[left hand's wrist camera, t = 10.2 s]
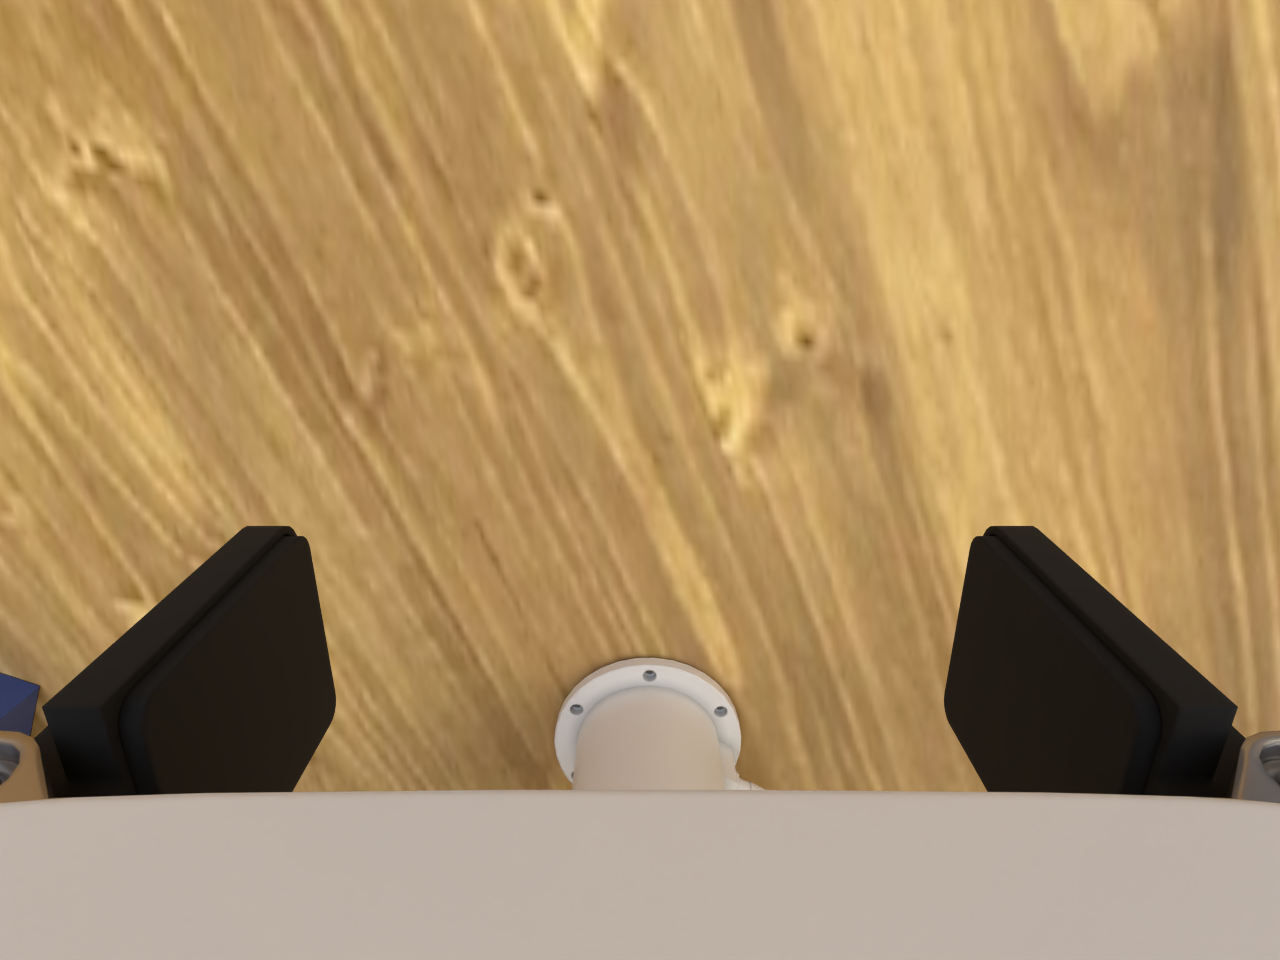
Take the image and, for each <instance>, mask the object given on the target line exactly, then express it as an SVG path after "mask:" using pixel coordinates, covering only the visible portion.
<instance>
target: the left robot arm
mask: <svg viewBox="0 0 1280 960" xmlns="http://www.w3.org/2000/svg"><path fill="white" fill-rule="evenodd" d="M335 707H336V695H335V688H334V683H333V677H332V671H331V665H330V660H329V654H328V648H327V643H326V637H325V631H324V625H323V620H322V614H321V608H320V603H319V597H318V591H317V585H316V580H315V574H314V568H313V562H312V557H311V551H310V546H309V543H308V541H307V539H306V538H305V537H304V536H297V535H296V533H295V531H294V530H293V529H292V528H291V527H290V526H246V527H245V528H243V529H242V530H240V531H239V532H238V533H237V534H236V535H235V536H234V537H233V538H231V539H230V540H229V541H228V542H227V543H226V544H225V545H224V546H222V547H221V548H220V549H219V550H218V551H217V552H216V553H215V554H213V555H212V556H211V557H210V558H209V559H208V560H207V561H206V562H204V563H203V564H202V565H201V566H200V567H199V568H198V569H197V570H195V571H194V572H193V573H192V574H191V575H190V576H189V577H188V578H186V579H185V580H184V581H183V582H182V583H181V584H180V585H179V586H178V587H176V588H175V589H174V590H173V591H172V592H171V593H170V594H169V595H167V596H166V597H165V598H164V599H163V600H162V601H161V602H160V603H158V604H157V605H156V606H155V607H154V608H153V609H152V610H151V611H149V612H148V613H147V614H146V615H145V616H144V617H143V618H142V619H140V620H139V621H138V622H137V623H136V624H135V625H134V626H133V627H131V628H130V629H129V630H128V631H127V632H126V633H125V634H124V635H122V636H121V637H120V638H119V639H118V640H117V641H116V642H115V643H113V644H112V645H111V646H110V647H109V648H108V649H107V650H106V651H104V652H103V653H102V654H101V655H100V656H99V657H98V658H97V659H95V660H94V661H93V662H92V663H91V664H90V665H89V666H88V667H87V668H85V669H84V670H83V671H82V672H81V673H80V674H79V675H78V676H76V677H75V678H74V679H73V680H72V681H71V682H70V683H69V684H67V685H66V686H65V687H64V688H63V689H62V690H61V691H60V692H58V693H57V694H56V695H55V696H54V697H53V698H52V699H51V700H49V701H48V702H47V703H46V704H45V705H44V706H43V707H42V708H43V711H44V714H45V717H46V720H47V723H48V726H47V727H46V728H45V729H44V730H43V731H42V732H41V733H40V734H39V735H38V736H36V737H35V738H33V737H30V736H28V735H26V734H23V733H21V732H12V731H0V960H1280V731H1268V732H1259V733H1257V734H1254V735H1252V736H1250V737H1247V738H1245V737H1244V736H1242V735H1241V734H1240V733H1239V732H1238V731H1237V730H1236V729H1235V728H1234V727H1233V726H1232V723H1233V720H1234V717H1235V714H1236V711H1237V708H1238V707H1237V706H1236V705H1235V704H1234V703H1233V702H1232V701H1231V700H1229V699H1228V698H1227V697H1226V696H1225V695H1224V694H1223V693H1222V692H1220V691H1219V690H1218V689H1217V688H1216V687H1215V686H1214V685H1213V684H1211V683H1210V682H1209V681H1208V680H1207V679H1206V678H1205V677H1204V676H1202V675H1201V674H1200V673H1199V672H1198V671H1197V670H1196V669H1195V668H1193V667H1192V666H1191V665H1190V664H1189V663H1188V662H1187V661H1186V660H1185V659H1183V658H1182V657H1181V656H1180V655H1179V654H1178V653H1177V652H1176V651H1174V650H1173V649H1172V648H1171V647H1170V646H1169V645H1168V644H1167V643H1165V642H1164V641H1163V640H1162V639H1161V638H1160V637H1159V636H1158V635H1156V634H1155V633H1154V632H1153V631H1152V630H1151V629H1150V628H1149V627H1147V626H1146V625H1145V624H1144V623H1143V622H1142V621H1141V620H1140V619H1138V618H1137V617H1136V616H1135V615H1134V614H1133V613H1132V612H1131V611H1129V610H1128V609H1127V608H1126V607H1125V606H1124V605H1123V604H1122V603H1120V602H1119V601H1118V600H1117V599H1116V598H1115V597H1114V596H1113V595H1111V594H1110V593H1109V592H1108V591H1107V590H1106V589H1105V588H1104V587H1102V586H1101V585H1100V584H1099V583H1098V582H1097V581H1096V580H1095V579H1093V578H1092V577H1091V576H1090V575H1089V574H1088V573H1087V572H1086V571H1085V570H1083V569H1082V568H1081V567H1080V566H1079V565H1078V564H1077V563H1076V562H1074V561H1073V560H1072V559H1071V558H1070V557H1069V556H1068V555H1067V554H1065V553H1064V552H1063V551H1062V550H1061V549H1060V548H1059V547H1058V546H1056V545H1055V544H1054V543H1053V542H1052V541H1051V540H1050V539H1049V538H1047V537H1046V536H1045V535H1044V534H1043V533H1042V532H1041V531H1040V530H1038V529H1037V528H1035V527H1034V526H990V527H989V528H988V529H987V530H986V531H985V533H984V535H983V536H976V537H975V538H974V539H973V541H972V543H971V546H970V551H969V557H968V562H967V568H966V574H965V580H964V585H963V591H962V597H961V602H960V608H959V614H958V620H957V625H956V631H955V637H954V643H953V648H952V654H951V660H950V665H949V671H948V677H947V683H946V688H945V695H944V707H945V713H946V716H947V719H948V722H949V724H950V726H951V727H952V729H953V731H954V733H955V735H956V736H957V738H958V740H959V742H960V743H961V745H962V747H963V749H964V750H965V752H966V754H967V756H968V758H969V759H970V761H971V763H972V765H973V766H974V768H975V770H976V772H977V774H978V775H979V777H980V779H981V781H982V782H983V784H984V786H985V788H986V789H987V791H988V792H930V791H817V790H765V789H764V788H762V787H760V786H758V785H756V784H754V783H752V782H750V781H745V780H743V779H741V778H739V774H738V772H736V770H735V766H736V763H737V759H738V756H739V753H740V746H741V732H740V725H739V720H738V717H737V713H736V710H735V707H734V705H733V703H732V702H731V700H730V698H729V696H728V695H727V693H726V692H725V691H724V690H723V689H722V688H721V687H720V685H719V684H718V683H717V682H715V681H714V680H713V679H711V678H710V677H709V676H708V675H706V674H705V673H703V672H701V671H699V670H697V669H695V668H693V667H692V666H690V665H687V664H683V663H680V662H677V661H674V660H668V659H661V658H634V659H629V660H623V661H618V662H615V663H613V664H610V665H607V666H605V667H602V668H600V669H598V670H597V671H595V672H593V673H591V674H590V675H588V676H587V677H585V678H584V679H583V680H582V681H581V682H580V683H578V684H577V685H576V686H575V687H574V688H573V690H572V691H571V692H570V693H569V695H568V696H567V697H566V699H565V701H564V703H563V705H562V707H561V709H560V711H559V714H558V719H557V724H556V730H555V741H554V743H555V749H556V756H557V759H558V761H559V764H560V766H561V769H562V771H563V772H564V774H565V775H566V777H567V779H568V780H569V781H570V782H571V783H572V790H439V791H350V792H292V791H293V789H294V788H295V786H296V784H297V782H298V781H299V779H300V777H301V775H302V774H303V772H304V770H305V768H306V766H307V765H308V763H309V761H310V759H311V758H312V756H313V754H314V752H315V750H316V749H317V747H318V745H319V743H320V742H321V740H322V738H323V736H324V734H325V733H326V731H327V729H328V727H329V726H330V724H331V722H332V719H333V716H334V713H335Z"/></svg>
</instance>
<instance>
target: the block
mask: <svg viewBox="0 0 1280 960" xmlns="http://www.w3.org/2000/svg"><path fill="white" fill-rule="evenodd" d="M39 687H40V686H39V685H35V684H32V683H29V682H26V681H23V680H20V679H17V678H14V677H11V676H8V675H5V674H2V673H0V731H12V732H21V733H23V734H26V735H28V736H30V734H31V729H32V723H33V718H34V713H35V708H36V703H37V697H38V692H39Z"/></svg>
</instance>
